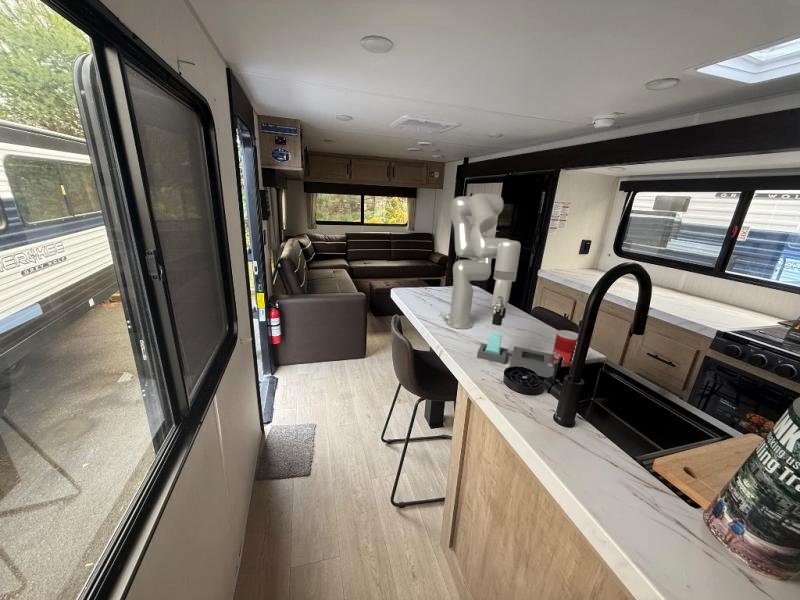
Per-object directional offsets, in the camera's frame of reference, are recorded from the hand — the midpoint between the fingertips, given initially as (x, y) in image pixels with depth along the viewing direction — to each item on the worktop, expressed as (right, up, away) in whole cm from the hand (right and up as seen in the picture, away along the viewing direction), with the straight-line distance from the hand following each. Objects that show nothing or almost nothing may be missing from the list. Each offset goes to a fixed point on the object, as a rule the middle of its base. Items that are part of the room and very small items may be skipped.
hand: (498, 321), depth 114 cm
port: (+11, -16, -2) cm, 20 cm away
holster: (-1, -14, +5) cm, 15 cm away
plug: (-1, -14, +5) cm, 15 cm away
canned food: (+26, -16, +5) cm, 31 cm away
